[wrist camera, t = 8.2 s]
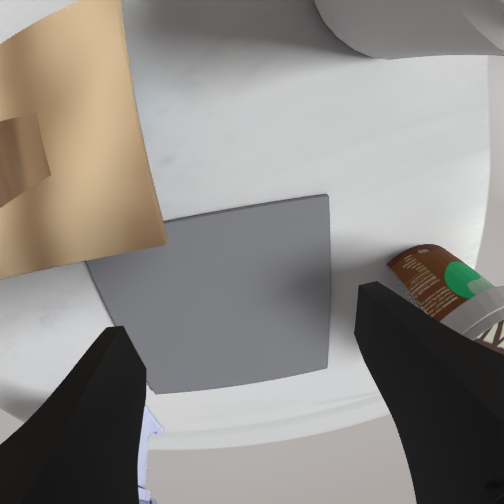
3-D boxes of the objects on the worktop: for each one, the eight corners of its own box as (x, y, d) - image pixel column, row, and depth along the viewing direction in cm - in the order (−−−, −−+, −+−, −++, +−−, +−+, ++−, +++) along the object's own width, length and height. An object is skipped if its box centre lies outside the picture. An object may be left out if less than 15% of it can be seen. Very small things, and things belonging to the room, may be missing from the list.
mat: (155, 390, 25) (155, 394, 25) (80, 239, 18) (78, 242, 17) (326, 364, 26) (327, 368, 26) (326, 193, 18) (328, 195, 18)
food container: (474, 283, 24) (534, 348, 15) (431, 325, 26) (482, 399, 17) (434, 197, 19) (533, 266, 10) (377, 253, 21) (455, 349, 12)
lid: (-3, 274, 14) (-42, 322, 10) (-55, 94, 8) (-111, 108, 4) (167, 237, 14) (150, 299, 10) (120, -8, 8) (78, -48, 4)
